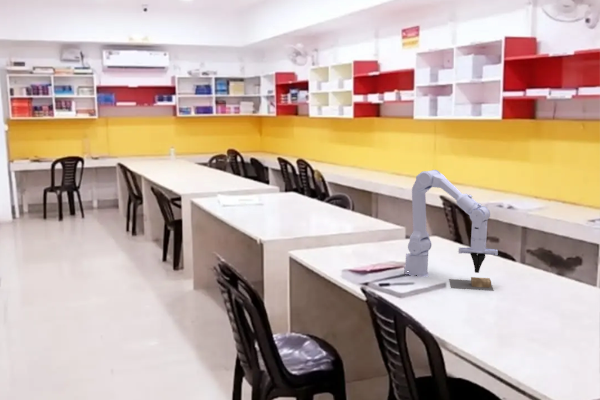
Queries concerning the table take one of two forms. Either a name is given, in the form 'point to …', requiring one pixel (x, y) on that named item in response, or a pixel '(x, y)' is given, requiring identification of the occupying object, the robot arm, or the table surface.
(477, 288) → the mat
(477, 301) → the table surface
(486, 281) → the block
